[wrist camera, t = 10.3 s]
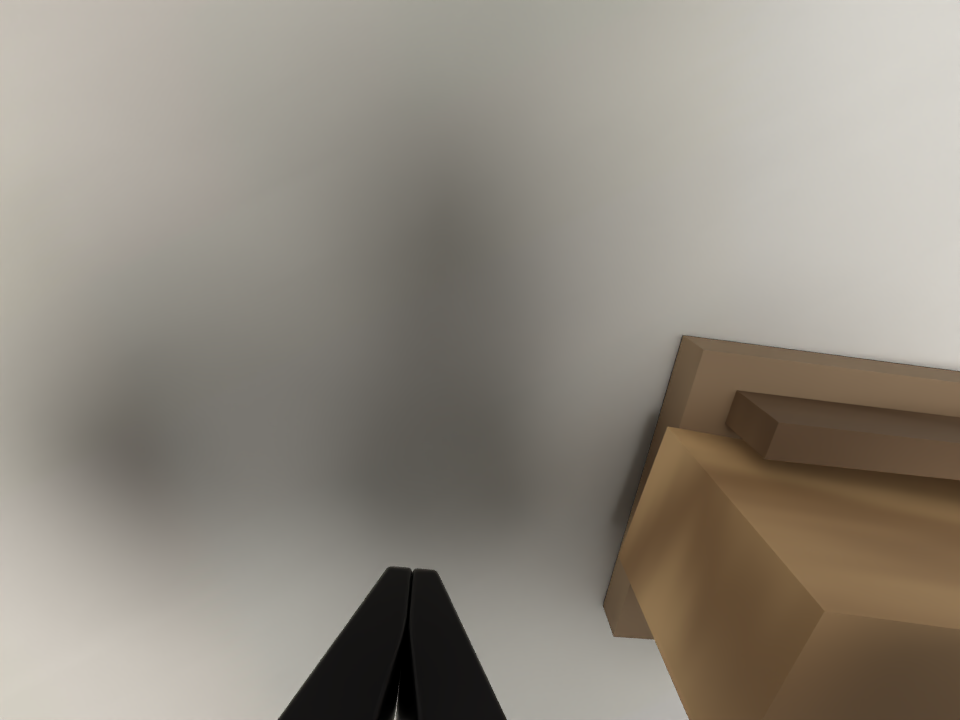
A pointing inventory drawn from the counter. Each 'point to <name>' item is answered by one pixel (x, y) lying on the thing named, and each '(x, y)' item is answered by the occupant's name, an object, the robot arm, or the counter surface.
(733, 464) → the wooden block
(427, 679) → the robot arm
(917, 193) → the counter surface
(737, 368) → the board
